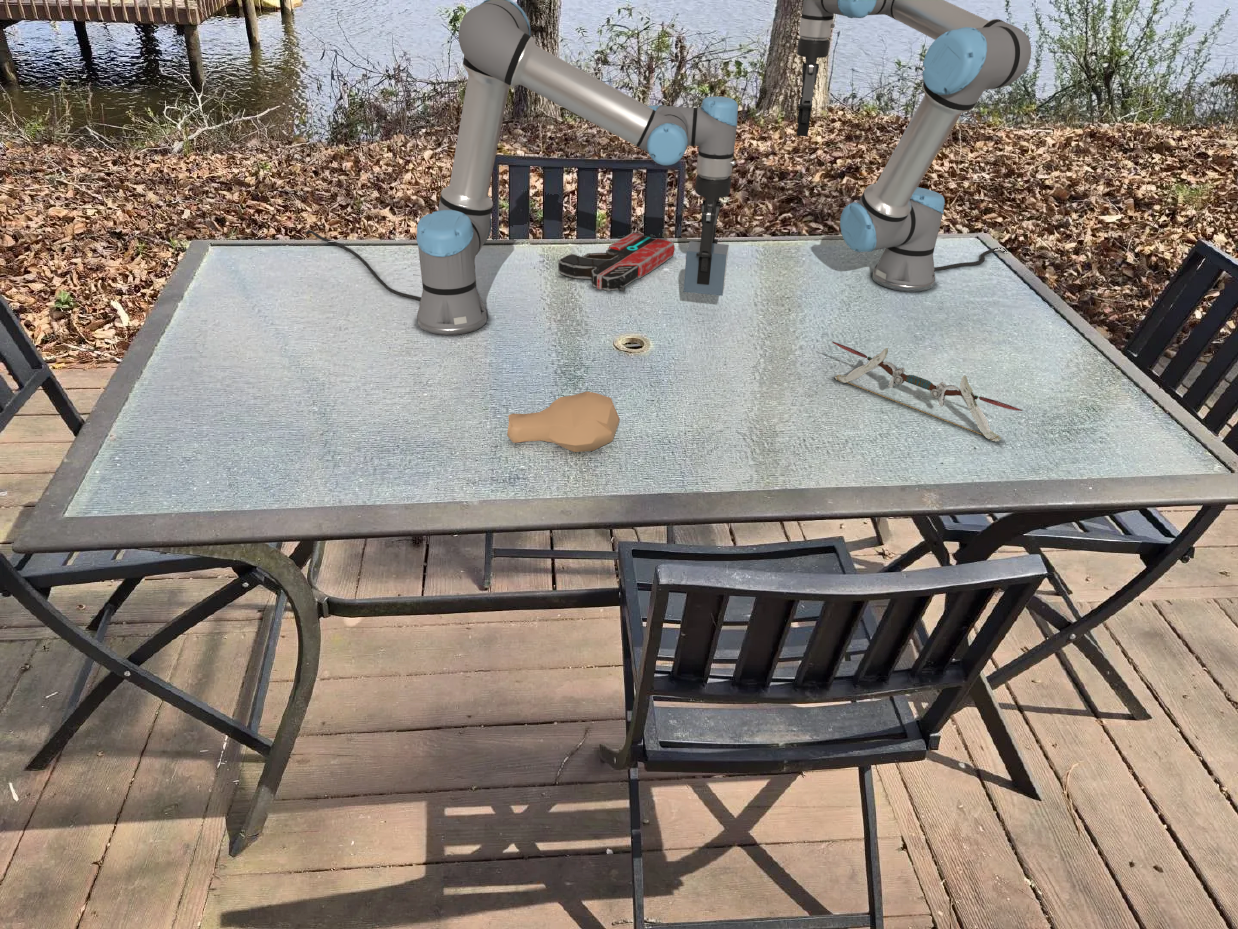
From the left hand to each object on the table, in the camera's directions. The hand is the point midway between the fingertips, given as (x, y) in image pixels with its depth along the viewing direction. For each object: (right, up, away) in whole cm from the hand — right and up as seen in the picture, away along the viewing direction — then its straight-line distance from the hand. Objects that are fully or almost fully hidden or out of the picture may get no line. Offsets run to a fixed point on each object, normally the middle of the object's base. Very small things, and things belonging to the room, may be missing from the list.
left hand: (704, 277), depth 200 cm
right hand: (+27, +43, +24) cm, 56 cm away
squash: (-30, -39, -44) cm, 66 cm away
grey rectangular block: (0, -2, +2) cm, 3 cm away
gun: (-20, +8, +26) cm, 34 cm away
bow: (+37, -32, -31) cm, 58 cm away
